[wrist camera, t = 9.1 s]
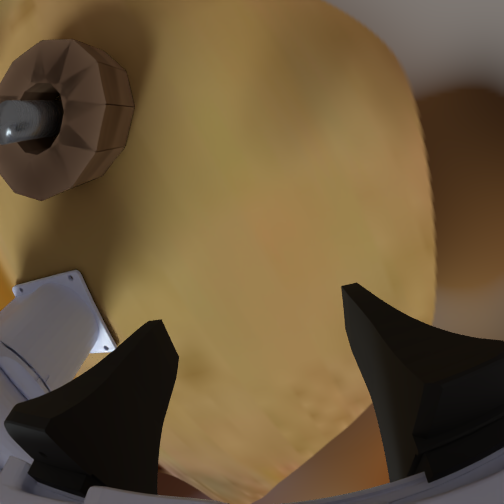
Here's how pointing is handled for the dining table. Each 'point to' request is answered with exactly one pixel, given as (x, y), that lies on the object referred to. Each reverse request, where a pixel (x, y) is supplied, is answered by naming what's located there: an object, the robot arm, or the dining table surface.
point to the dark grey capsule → (29, 120)
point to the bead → (67, 117)
